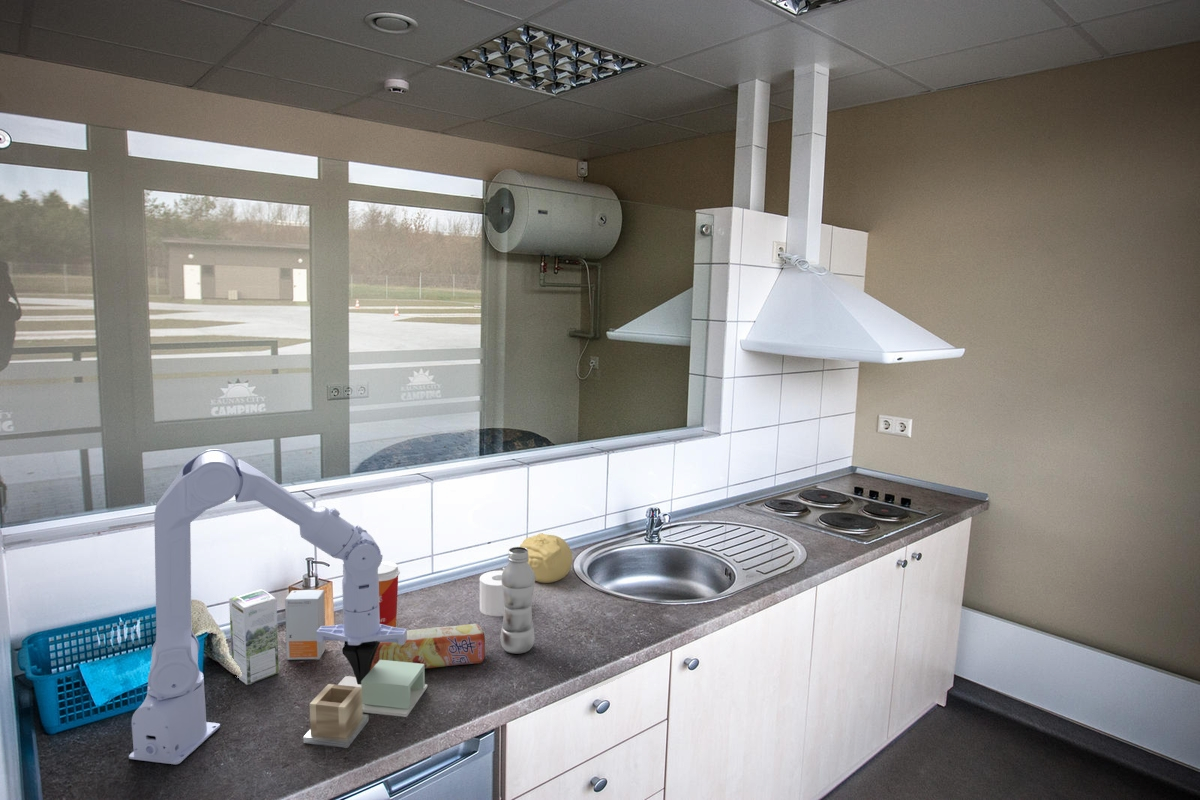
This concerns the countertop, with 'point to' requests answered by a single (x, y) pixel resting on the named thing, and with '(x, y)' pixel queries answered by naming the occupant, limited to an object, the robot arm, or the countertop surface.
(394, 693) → the cover
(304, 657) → the skincare box
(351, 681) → the plate
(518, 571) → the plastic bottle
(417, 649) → the snack package
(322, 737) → the pin plate
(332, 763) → the countertop surface
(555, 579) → the sculpture
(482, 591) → the toilet paper
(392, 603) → the paper cup
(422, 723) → the countertop surface
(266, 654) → the syrup box
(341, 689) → the hollow square wooden block
